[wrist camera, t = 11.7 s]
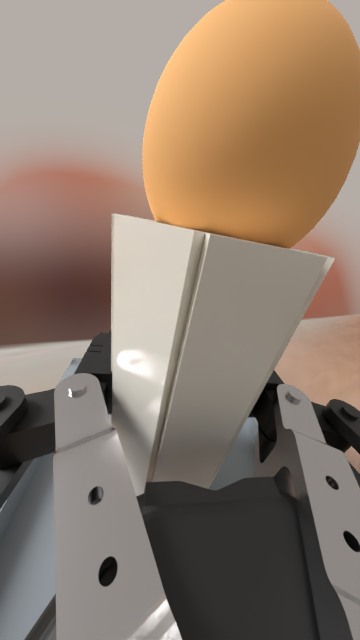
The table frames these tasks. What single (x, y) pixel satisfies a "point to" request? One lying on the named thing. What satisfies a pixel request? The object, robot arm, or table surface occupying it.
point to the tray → (39, 538)
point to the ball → (255, 121)
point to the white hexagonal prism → (196, 340)
